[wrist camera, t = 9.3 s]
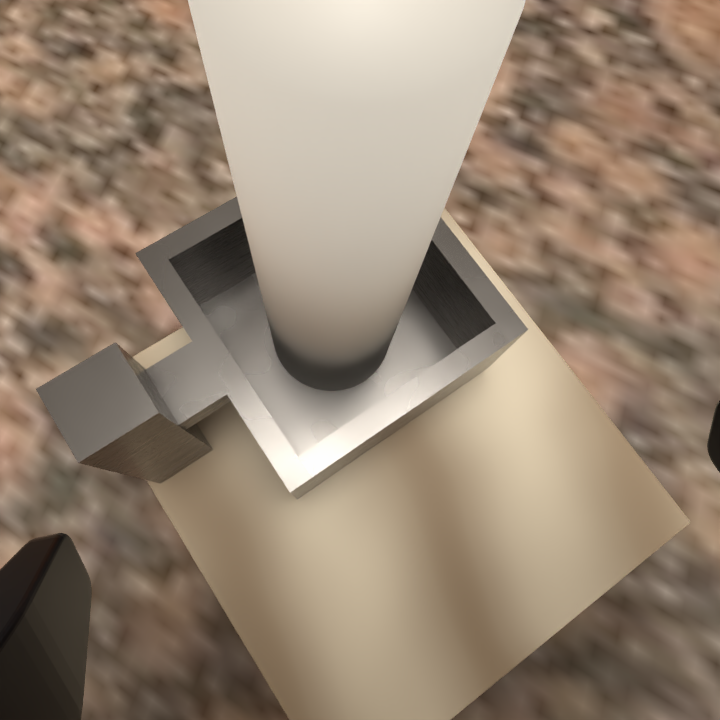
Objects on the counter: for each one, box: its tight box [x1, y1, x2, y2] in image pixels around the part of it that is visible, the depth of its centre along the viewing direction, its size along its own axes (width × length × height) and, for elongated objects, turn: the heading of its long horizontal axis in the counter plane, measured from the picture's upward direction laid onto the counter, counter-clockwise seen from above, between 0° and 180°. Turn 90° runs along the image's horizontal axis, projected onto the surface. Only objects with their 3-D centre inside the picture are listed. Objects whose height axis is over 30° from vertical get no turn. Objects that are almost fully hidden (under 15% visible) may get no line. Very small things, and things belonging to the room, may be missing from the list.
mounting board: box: [133, 208, 691, 720], centre depth 19 cm, size 13×14×1 cm
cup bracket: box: [36, 197, 528, 499], centre depth 16 cm, size 10×7×6 cm
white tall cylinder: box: [188, 0, 525, 391], centre depth 12 cm, size 4×4×13 cm
